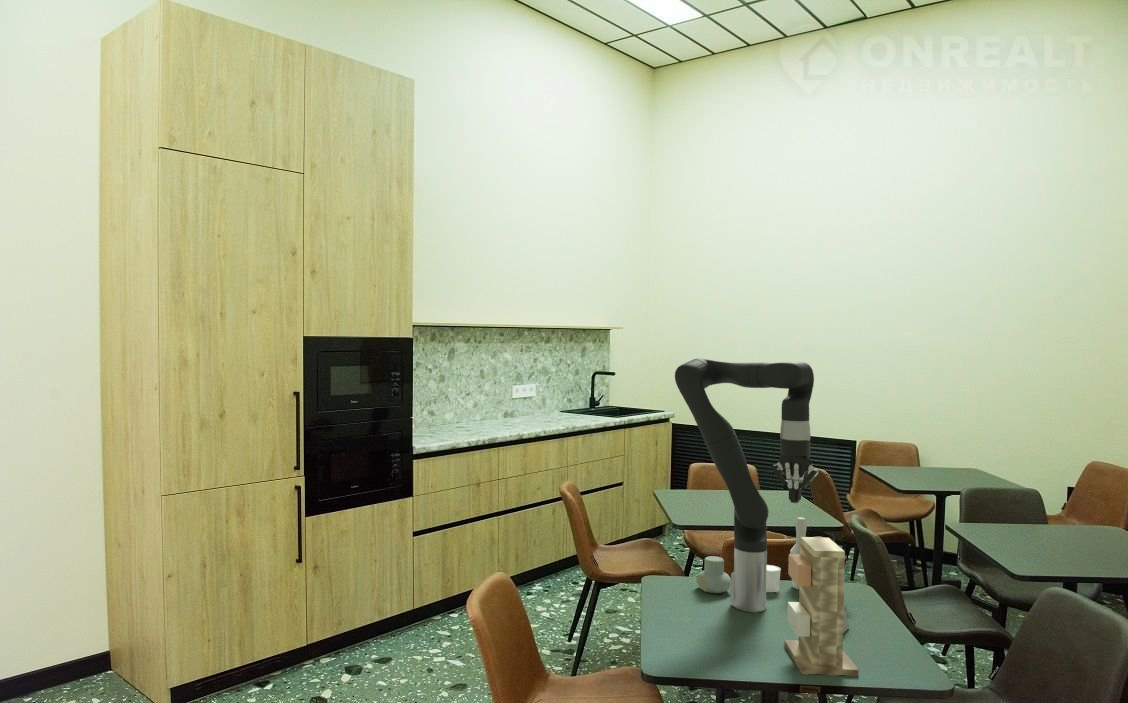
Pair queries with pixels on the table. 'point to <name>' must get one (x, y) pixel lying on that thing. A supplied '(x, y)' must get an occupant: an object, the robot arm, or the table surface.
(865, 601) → the table surface
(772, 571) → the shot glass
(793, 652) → the knob post
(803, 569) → the orange block
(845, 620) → the electrical switch
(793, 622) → the lower knob
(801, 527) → the low poly bottle
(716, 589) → the air freshener
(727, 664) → the table surface
